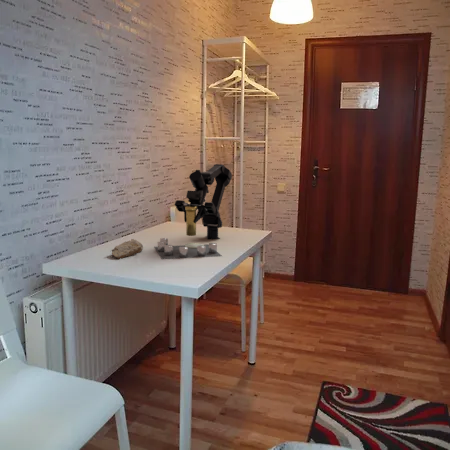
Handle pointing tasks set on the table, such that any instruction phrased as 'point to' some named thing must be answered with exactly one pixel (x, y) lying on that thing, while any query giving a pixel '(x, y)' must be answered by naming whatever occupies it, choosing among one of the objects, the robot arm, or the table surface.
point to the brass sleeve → (190, 220)
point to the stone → (127, 249)
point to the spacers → (184, 249)
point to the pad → (193, 245)
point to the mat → (191, 253)
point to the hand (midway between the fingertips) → (189, 222)
